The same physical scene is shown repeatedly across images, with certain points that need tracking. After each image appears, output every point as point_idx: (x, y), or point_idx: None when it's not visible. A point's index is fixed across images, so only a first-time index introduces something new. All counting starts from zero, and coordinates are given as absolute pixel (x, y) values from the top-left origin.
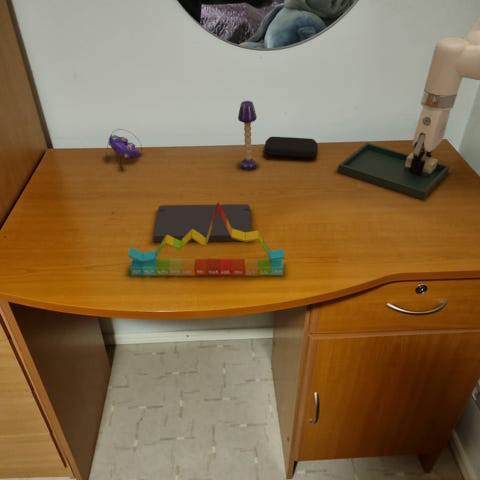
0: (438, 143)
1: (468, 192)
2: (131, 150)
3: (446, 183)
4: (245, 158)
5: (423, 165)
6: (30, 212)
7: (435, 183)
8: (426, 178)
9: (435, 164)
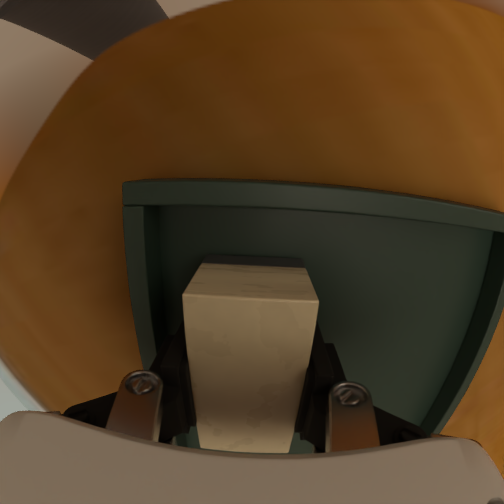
0: (176, 469)
1: (310, 9)
2: None
3: (278, 137)
4: None
5: (327, 353)
6: None
7: (404, 194)
8: (321, 269)
9: (231, 283)
